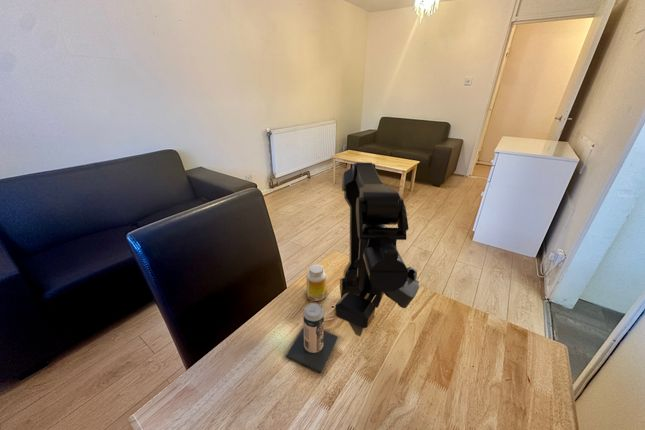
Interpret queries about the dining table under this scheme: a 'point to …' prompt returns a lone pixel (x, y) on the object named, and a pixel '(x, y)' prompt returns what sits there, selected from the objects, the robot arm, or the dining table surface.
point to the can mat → (312, 359)
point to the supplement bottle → (316, 282)
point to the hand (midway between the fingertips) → (367, 319)
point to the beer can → (313, 327)
